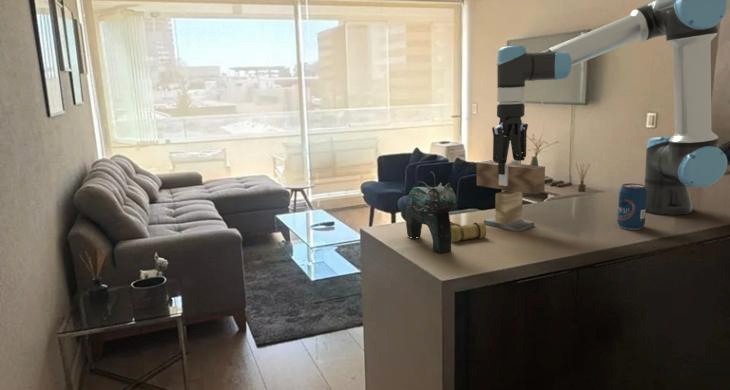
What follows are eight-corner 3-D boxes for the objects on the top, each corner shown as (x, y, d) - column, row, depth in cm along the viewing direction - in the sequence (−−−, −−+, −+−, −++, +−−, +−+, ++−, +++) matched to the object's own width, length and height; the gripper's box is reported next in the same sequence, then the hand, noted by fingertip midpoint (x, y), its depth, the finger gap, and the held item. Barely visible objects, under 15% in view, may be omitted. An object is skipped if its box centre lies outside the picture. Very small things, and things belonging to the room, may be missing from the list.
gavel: (420, 215, 155) (450, 211, 158) (421, 230, 156) (450, 226, 159) (454, 227, 135) (486, 223, 138) (454, 244, 136) (487, 239, 139)
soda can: (611, 226, 145) (614, 185, 143) (627, 222, 149) (630, 182, 146) (634, 231, 139) (637, 188, 137) (650, 227, 143) (653, 185, 140)
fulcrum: (534, 226, 149) (535, 192, 147) (517, 231, 144) (518, 197, 142) (500, 218, 158) (500, 187, 156) (483, 223, 153) (483, 191, 151)
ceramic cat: (458, 253, 128) (458, 175, 124) (436, 257, 126) (435, 177, 122) (419, 233, 146) (418, 165, 142) (399, 237, 144) (397, 167, 140)
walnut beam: (544, 191, 143) (545, 166, 141) (533, 194, 140) (534, 169, 138) (487, 182, 158) (487, 160, 157) (476, 185, 155) (476, 162, 154)
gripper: (518, 101, 152) (517, 178, 157) (479, 104, 141) (479, 187, 146) (541, 101, 146) (538, 180, 151) (501, 104, 135) (500, 190, 140)
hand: (509, 183), depth 148 cm, fingers closed on walnut beam, 5 cm apart
